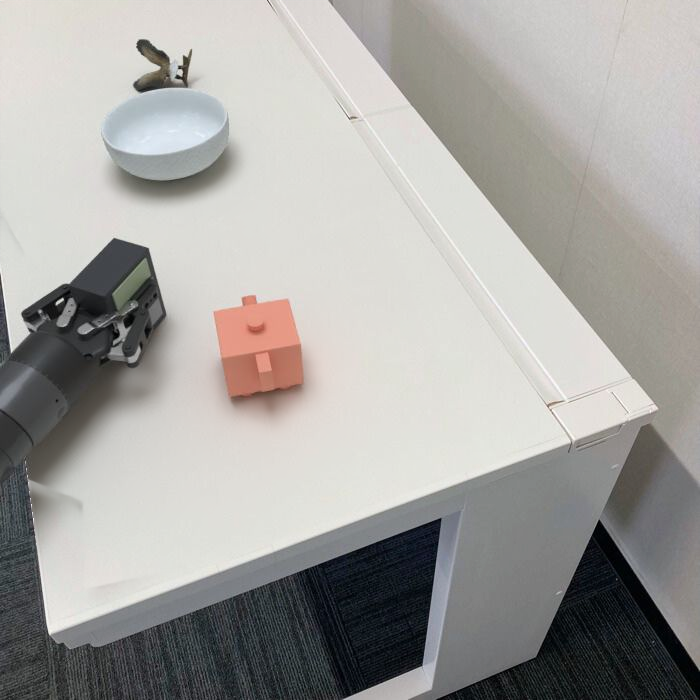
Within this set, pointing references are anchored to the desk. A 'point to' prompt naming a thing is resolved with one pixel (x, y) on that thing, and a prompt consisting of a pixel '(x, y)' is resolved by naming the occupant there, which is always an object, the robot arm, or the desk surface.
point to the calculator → (116, 280)
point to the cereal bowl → (166, 133)
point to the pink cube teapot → (259, 346)
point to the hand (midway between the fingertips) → (132, 278)
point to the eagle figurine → (162, 61)
